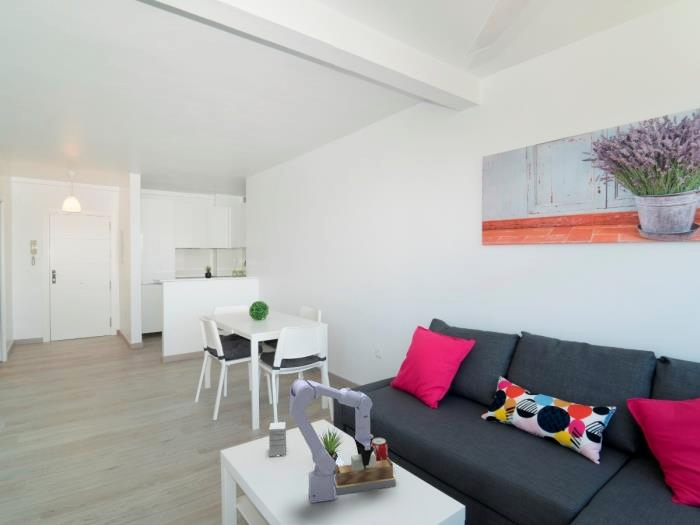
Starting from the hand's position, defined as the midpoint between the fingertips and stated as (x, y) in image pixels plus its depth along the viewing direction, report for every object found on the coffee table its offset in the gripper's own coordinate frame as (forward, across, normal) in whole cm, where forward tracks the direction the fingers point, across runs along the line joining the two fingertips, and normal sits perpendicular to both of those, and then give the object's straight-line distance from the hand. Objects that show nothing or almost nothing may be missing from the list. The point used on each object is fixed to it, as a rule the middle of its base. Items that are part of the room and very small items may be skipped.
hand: (363, 460), depth 148 cm
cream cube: (+2, 0, -3) cm, 4 cm away
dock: (+9, 0, 0) cm, 9 cm away
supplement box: (+10, +34, +32) cm, 48 cm away
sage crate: (+2, 0, +2) cm, 3 cm away
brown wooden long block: (+7, 0, 0) cm, 7 cm away
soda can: (+10, +9, -9) cm, 16 cm away
